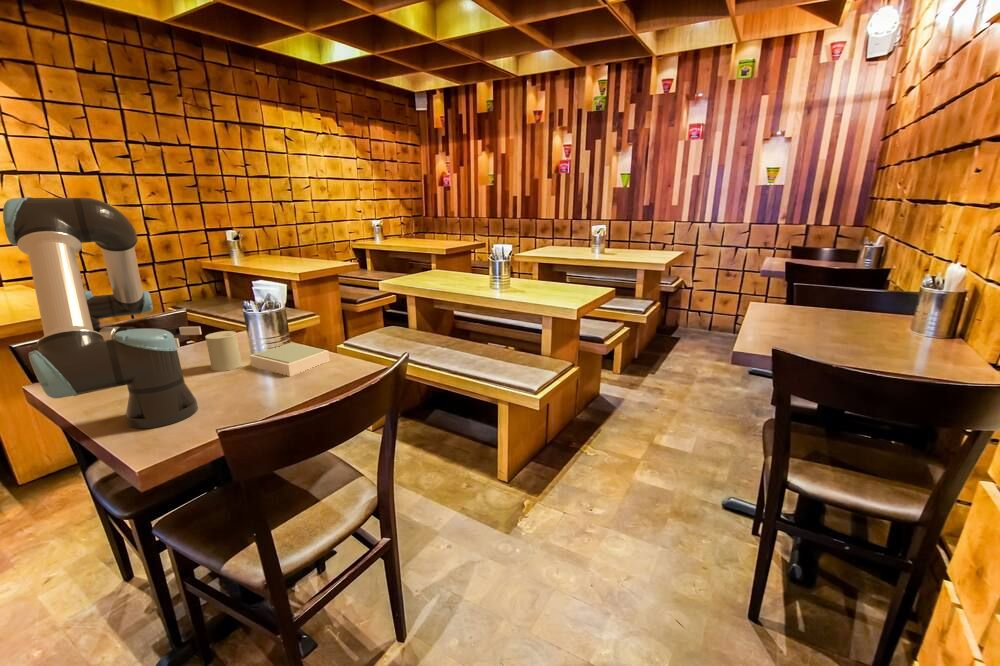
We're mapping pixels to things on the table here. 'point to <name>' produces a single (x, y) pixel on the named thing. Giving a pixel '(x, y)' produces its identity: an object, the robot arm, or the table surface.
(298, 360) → the block
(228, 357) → the can
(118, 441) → the table surface
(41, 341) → the robot arm
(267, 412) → the table surface
